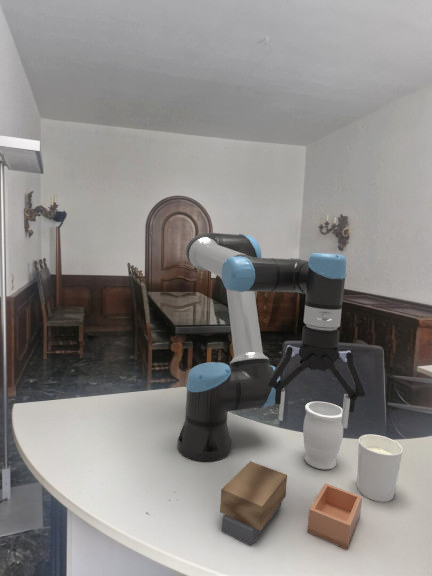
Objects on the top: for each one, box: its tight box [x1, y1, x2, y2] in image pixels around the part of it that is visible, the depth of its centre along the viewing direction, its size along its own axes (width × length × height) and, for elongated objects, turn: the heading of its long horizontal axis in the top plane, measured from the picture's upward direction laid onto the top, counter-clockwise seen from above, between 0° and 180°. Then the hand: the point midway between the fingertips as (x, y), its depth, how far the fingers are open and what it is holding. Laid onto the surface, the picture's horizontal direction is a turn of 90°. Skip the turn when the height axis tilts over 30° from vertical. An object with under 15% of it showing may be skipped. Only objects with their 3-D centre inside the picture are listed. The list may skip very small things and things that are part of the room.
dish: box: [307, 483, 363, 551], centre depth 83 cm, size 8×11×5 cm
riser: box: [221, 502, 282, 546], centre depth 84 cm, size 7×15×3 cm, turn 149°
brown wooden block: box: [219, 460, 288, 531], centre depth 84 cm, size 9×13×5 cm
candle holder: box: [356, 433, 404, 503], centre depth 95 cm, size 10×10×12 cm
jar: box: [302, 401, 344, 471], centre depth 107 cm, size 11×10×15 cm
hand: (312, 421), depth 87 cm, fingers open, 13 cm apart
